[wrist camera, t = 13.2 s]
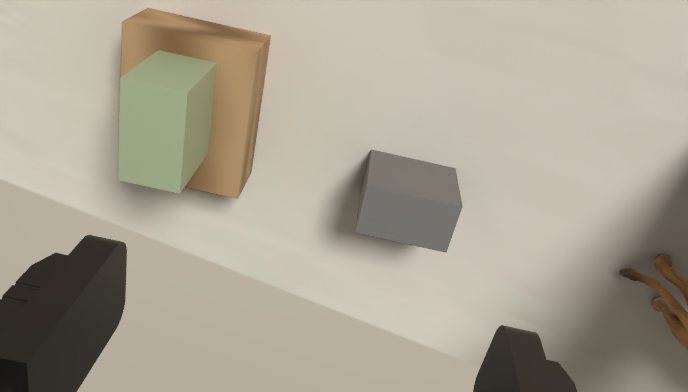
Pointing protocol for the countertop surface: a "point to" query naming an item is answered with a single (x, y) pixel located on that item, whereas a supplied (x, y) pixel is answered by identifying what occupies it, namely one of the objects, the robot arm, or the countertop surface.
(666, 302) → the lion figurine
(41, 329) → the robot arm
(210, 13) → the countertop surface
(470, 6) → the countertop surface
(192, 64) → the sage brick
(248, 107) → the oak block
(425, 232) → the charcoal brick
